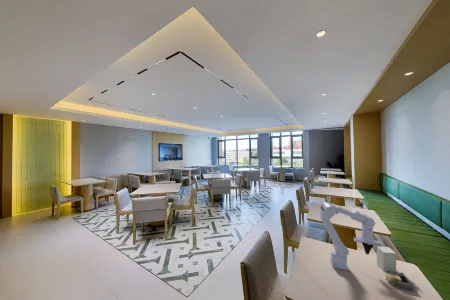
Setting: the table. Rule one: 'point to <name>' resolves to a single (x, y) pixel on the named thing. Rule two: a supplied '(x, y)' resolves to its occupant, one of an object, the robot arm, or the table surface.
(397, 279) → the tan block
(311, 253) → the table surface
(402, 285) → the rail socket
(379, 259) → the supplement box
